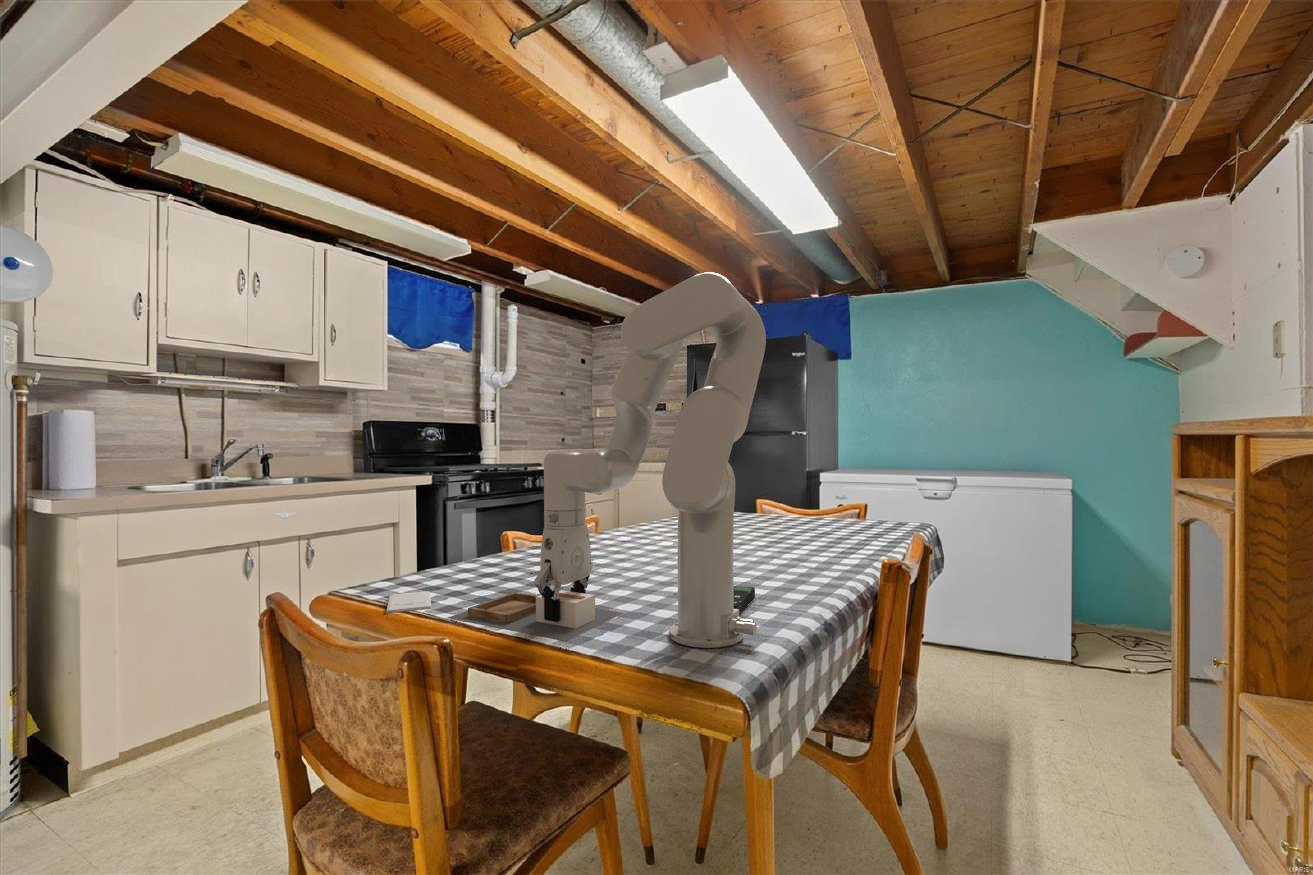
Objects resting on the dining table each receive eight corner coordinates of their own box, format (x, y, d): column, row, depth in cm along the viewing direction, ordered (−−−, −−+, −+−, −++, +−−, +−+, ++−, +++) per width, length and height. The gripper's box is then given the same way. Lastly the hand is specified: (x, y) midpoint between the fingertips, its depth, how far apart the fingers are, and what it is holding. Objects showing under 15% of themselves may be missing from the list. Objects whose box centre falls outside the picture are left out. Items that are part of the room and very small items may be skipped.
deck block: (595, 619, 112) (595, 594, 112) (575, 628, 107) (575, 601, 107) (556, 612, 117) (556, 588, 117) (536, 621, 112) (535, 595, 111)
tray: (553, 606, 122) (553, 598, 122) (508, 624, 110) (508, 615, 110) (515, 599, 126) (515, 592, 126) (467, 616, 115) (467, 608, 115)
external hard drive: (430, 598, 132) (431, 613, 121) (389, 602, 129) (386, 618, 118) (430, 590, 132) (431, 605, 121) (389, 594, 129) (386, 609, 118)
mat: (623, 615, 116) (623, 612, 116) (566, 643, 101) (566, 640, 101) (512, 597, 130) (512, 595, 130) (446, 620, 114) (446, 617, 114)
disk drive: (739, 620, 115) (755, 599, 129) (739, 605, 115) (755, 586, 129) (687, 615, 119) (708, 595, 133) (687, 600, 119) (708, 582, 133)
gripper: (551, 526, 102) (551, 631, 103) (607, 514, 118) (608, 605, 118) (517, 523, 106) (517, 625, 106) (576, 512, 121) (577, 601, 121)
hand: (565, 614), depth 112 cm, fingers open, 7 cm apart
